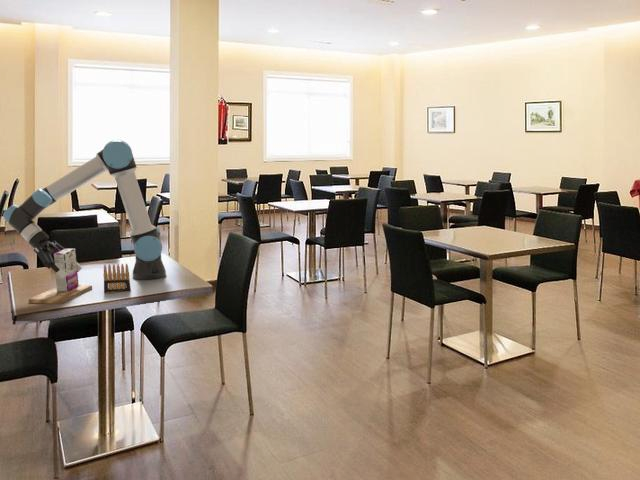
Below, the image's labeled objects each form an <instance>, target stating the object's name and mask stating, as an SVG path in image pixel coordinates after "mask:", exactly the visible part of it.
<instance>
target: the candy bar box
mask: <svg viewBox="0 0 640 480" xmlns="http://www.w3.org/2000/svg"><path fill="white" fill-rule="evenodd" d="M53 261H54V264H55V263H57V264H58V265H59V266H60V267H61V268H62V269H63V270H64V271H65V272H66V273H67V275H66V276H65V277H64V278H63V279H62V278H61V277H60V276H59V275H58V274H57V273H56V272H55V271H54V272H55V283H56V287H57V292H69V291H70V290H72V289H74V288H75V287H77V286H78V285H80V284H79V276H78V274H79V272H77V263H78V261H77V254H76V248H65V249H63V250H61V251H59V252H57V253H55V254H53Z"/></svg>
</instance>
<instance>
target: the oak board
mask: <svg viewBox="0 0 640 480" xmlns="http://www.w3.org/2000/svg"><path fill="white" fill-rule="evenodd" d="M92 289H93V285H91V284H89V285H87V284H86V285H85V284H84V285H83V284H79V285H78V286H77V287H75V288H74V289H72V290H70V291H69V292H57V286H56V287H53V288H51V289H49V290H46V291H44V292H42V293H39V294H37V295H34V296H32V297H30V298H28V303H30V304H31V303H33V304H60V305H61V304H64V303H67V302H68V301H71V300H73V299H74V297H75V298H77V297H78V296H81V295H83V294H85V293H87V292H89V291H91V290H92ZM72 298H73V299H72Z"/></svg>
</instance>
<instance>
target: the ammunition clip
mask: <svg viewBox="0 0 640 480" xmlns="http://www.w3.org/2000/svg"><path fill="white" fill-rule="evenodd" d="M107 267H108V268H107ZM130 280H131V279H130V272H129V266H128V263H126V264H125V267H124V264H123V263H122V264H121V266H120V264H119V263H117V265H115V264H114V263H113V264H112V267H111V264H110V263H109V264H108V266H106V264H104V265H103V293H123V292H124V293H125V292H127V293H128V292H131V290H132V289H131V281H130Z"/></svg>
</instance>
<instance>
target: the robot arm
mask: <svg viewBox="0 0 640 480" xmlns="http://www.w3.org/2000/svg"><path fill="white" fill-rule="evenodd" d="M137 168H138V167H137V165H136V161H135V157H134V155H133V150H132V148H131V146H130V145H129V143H127V142H126V141H124V140H120V139H113V140H110V141H109V142H107V143H106V144H105V145H104V147H103V149H101V150H100V151H98V152H97V153H96V155H95V156H94V157H93V158H90V160H88V161H86V162H85V163H83V164H82V165H79V166H78V167H77V168H75V169H73V170H72V171H70V172H68V173H67V174H66V175H64V176H62V177H60V178H58V179H57V180H56V181H54V182H52V183H50V184H48V185H47V186H46V187H44V188H38V189H37V190H35V191H34V192H33V193H32V194H31V195H30V196H29V197H28V198H26V200H25V201H23V203H22V204H20V205H18V204H13V205H10V206H9V207H8V208H7V209H6V210H4V212H3V213H2V214H3V215H2V217H3V219H4V220H5V221H6V222H7V224H9V225H10V227H12V228H13V229H14V230H15V231H16V232H17V233H18V234H19V235H21V237H22V238H23V239H24V240H25V241H26V242H28V244H29V245H30V246H31V247H32V248H33V251H34V253H35V254H36V255H37V256H38V258H39V260H40V261H41V263H42V264H43V266H44V267H45V268H47V269H48V270H50V269H52V270H53V271H54V272H56V273H57V274H58V275H59V276H60V277H61V278H62V279H63V278H64V277H65V276H66V275H67V273H66V272H65V271H64V270H63V269H62V268H61V267H60V266H59V265H58V264H57V263H55V264H54V257H53V255H54V254H55V253H57V252H59V251H61V250H63V249H66V248H65V247H64V246H63V245H61V244H60V243H59V242H57V240H53V241H50V240H49V239H50V236H49V235H48V234H47V233H46V232H45V231H44V230H43V229H42V228H41V227H40V226H39V225H38V224H37V223H36V222H35V221H34V220H35V218H36V217H38V215H40V214H41V213H42V212H43V211H44V210H46V209H47V208H49V207H50V206H51V205H53V204H55V203H56V202H58V201H59V200H61V199H62V198H64V197H67V196H68V195H70V194H71V193H73V192H74V191H75V190H77V189H80V188H81V187H82V186H84V185H85V184H87V183H89V182H91V181H92V180H94V179H96V178H97V177H99V176H101V175H102V174H104V173H105V172H108V173H109V175H110V176H111V177H113V178H114V181H115V182H116V185H117V188H118V192H119V195H120V199H121V200H122V204H123V207H124V211H125V213H126V216H127V218H128V222H129V225H130V229H131V232H130V234H129V236H130V240H131V242H132V245H133V251H134V255H135V261H134V262H135V263H134V267H133V269H132V278H133V279H136V280H155V279H161V278H164V277H166V275H167V270H166V267H165V266H164V264H163V263H164V262H163V260H162V252H163V244H162V242H161V230H160V228H159V227H157V226H155V225H153V224H152V223H151V220H150V219H151V218H150V217H149V213H148V210H147V207H146V204H145V200H144V198H143V194H142V191H141V188H140V185H139V183H138V179H137V176H136V170H137ZM82 269H83V266H81V265H80V264H79V262H77V273H79V272H80V271H81V270H82Z"/></svg>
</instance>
